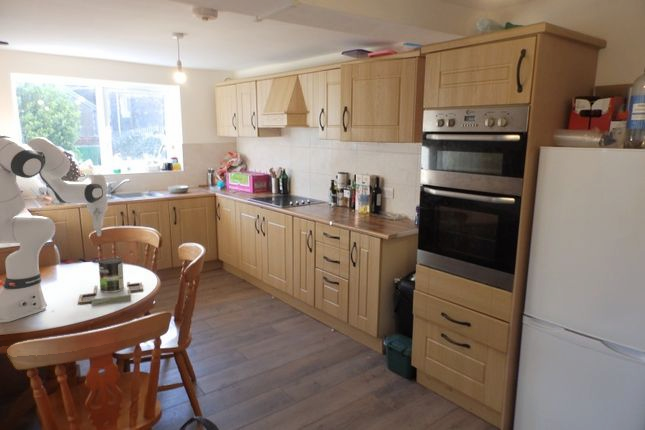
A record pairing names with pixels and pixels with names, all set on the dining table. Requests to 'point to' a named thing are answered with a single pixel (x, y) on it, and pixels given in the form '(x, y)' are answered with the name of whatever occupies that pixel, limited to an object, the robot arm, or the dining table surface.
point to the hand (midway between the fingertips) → (99, 235)
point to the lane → (90, 297)
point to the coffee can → (111, 275)
